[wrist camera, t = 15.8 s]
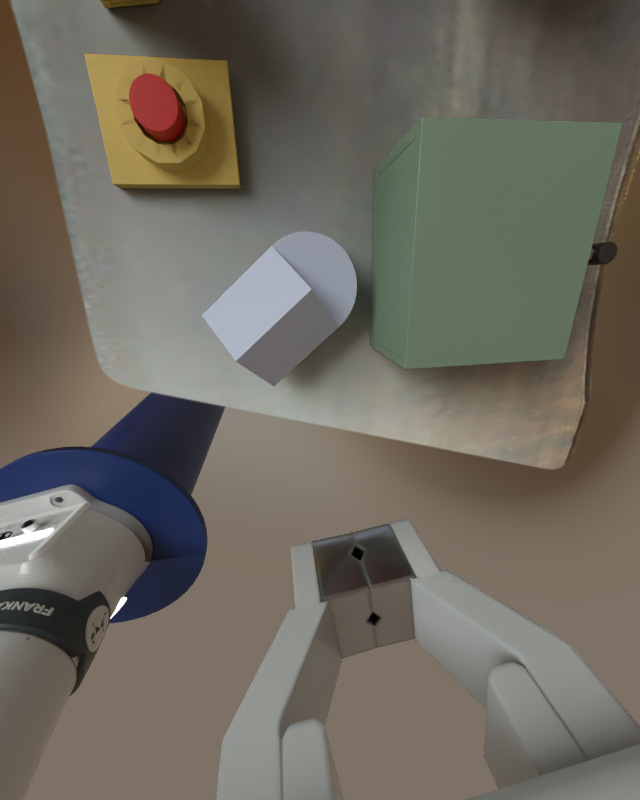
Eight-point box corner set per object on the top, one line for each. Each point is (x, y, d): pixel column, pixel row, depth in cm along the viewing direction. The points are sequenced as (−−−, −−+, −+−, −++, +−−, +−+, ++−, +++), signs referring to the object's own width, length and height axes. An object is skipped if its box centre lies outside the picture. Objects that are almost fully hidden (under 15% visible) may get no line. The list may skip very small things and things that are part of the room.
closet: (369, 345, 34) (405, 369, 25) (374, 169, 29) (422, 116, 19) (489, 339, 36) (564, 359, 27) (516, 171, 30) (623, 122, 21)
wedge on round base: (274, 376, 34) (366, 291, 32) (274, 397, 28) (388, 294, 26) (208, 312, 31) (307, 214, 29) (192, 319, 25) (316, 196, 23)
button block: (119, 188, 27) (101, 177, 24) (92, 63, 24) (68, 34, 21) (241, 188, 28) (237, 178, 25) (229, 70, 25) (223, 43, 22)
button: (144, 141, 24) (134, 131, 22) (133, 86, 23) (123, 71, 21) (188, 142, 24) (182, 132, 22) (180, 88, 23) (173, 73, 21)
